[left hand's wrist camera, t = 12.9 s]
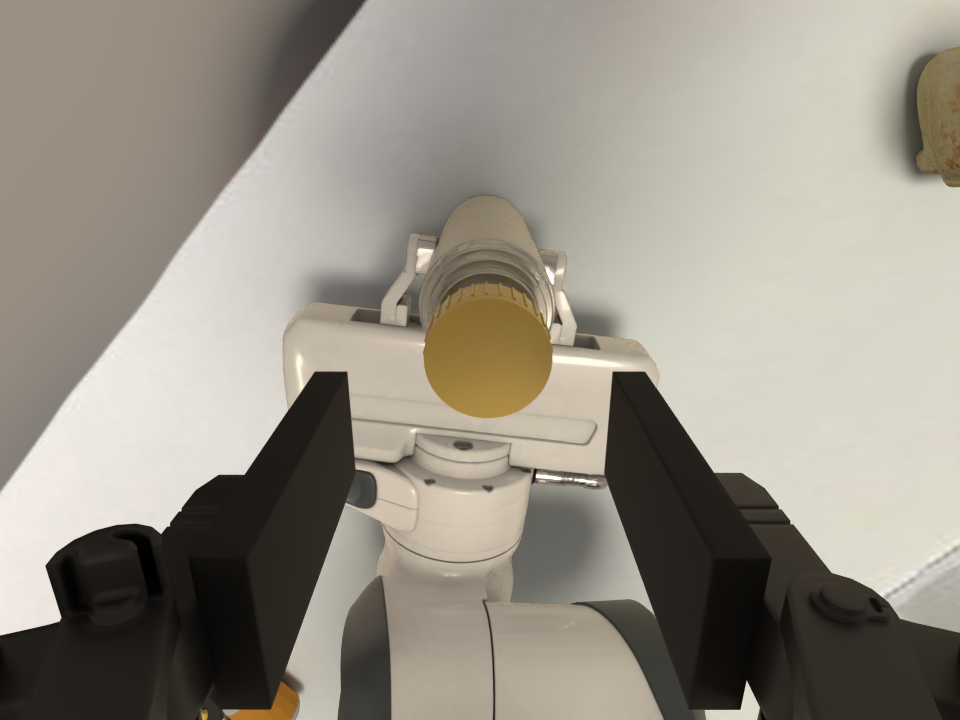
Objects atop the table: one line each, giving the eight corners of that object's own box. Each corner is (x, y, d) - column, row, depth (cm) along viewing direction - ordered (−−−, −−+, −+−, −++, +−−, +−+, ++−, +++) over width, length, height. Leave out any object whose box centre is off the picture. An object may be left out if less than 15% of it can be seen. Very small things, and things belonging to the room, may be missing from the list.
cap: (426, 394, 21) (421, 418, 19) (426, 279, 19) (420, 294, 17) (544, 397, 21) (549, 422, 19) (552, 282, 19) (559, 298, 17)
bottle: (442, 279, 39) (402, 431, 20) (443, 193, 37) (399, 267, 18) (525, 281, 39) (567, 435, 20) (530, 196, 37) (582, 273, 18)
